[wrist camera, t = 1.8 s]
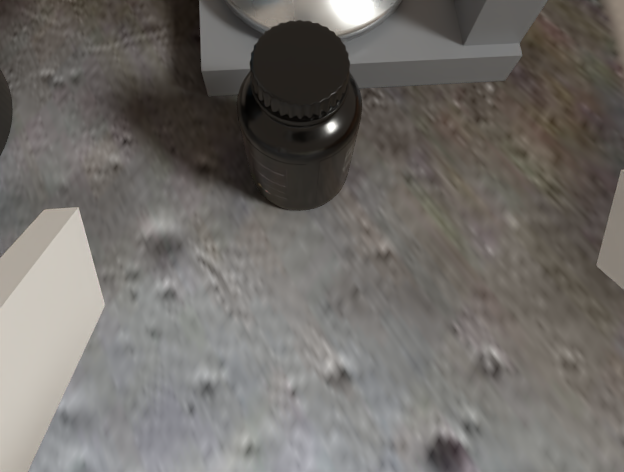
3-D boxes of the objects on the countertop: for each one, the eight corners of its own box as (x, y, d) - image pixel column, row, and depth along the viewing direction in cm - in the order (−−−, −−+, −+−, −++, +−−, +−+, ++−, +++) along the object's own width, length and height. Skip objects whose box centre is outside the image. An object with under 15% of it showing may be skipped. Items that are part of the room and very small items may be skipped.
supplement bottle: (301, 106, 37) (306, -24, 25) (367, 170, 35) (405, 65, 24) (228, 164, 35) (198, 54, 24) (294, 234, 34) (298, 154, 22)
